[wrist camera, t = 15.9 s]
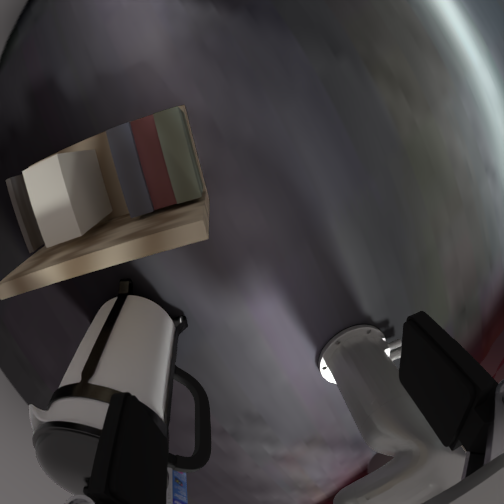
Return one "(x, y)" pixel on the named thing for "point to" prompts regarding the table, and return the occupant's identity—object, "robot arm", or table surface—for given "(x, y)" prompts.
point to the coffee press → (117, 389)
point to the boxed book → (67, 195)
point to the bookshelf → (123, 203)
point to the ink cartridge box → (176, 488)
